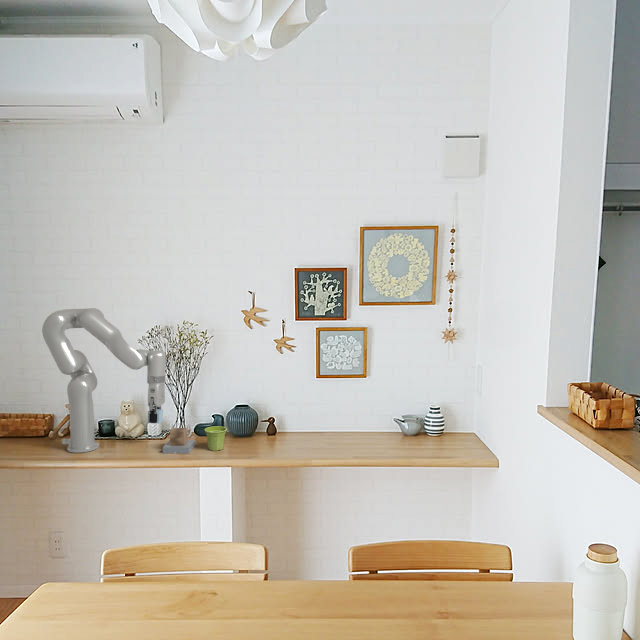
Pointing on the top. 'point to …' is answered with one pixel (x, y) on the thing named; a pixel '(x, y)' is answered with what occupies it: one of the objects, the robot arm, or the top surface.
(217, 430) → the plant pot
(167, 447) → the slate base
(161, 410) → the blue block
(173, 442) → the walnut block
